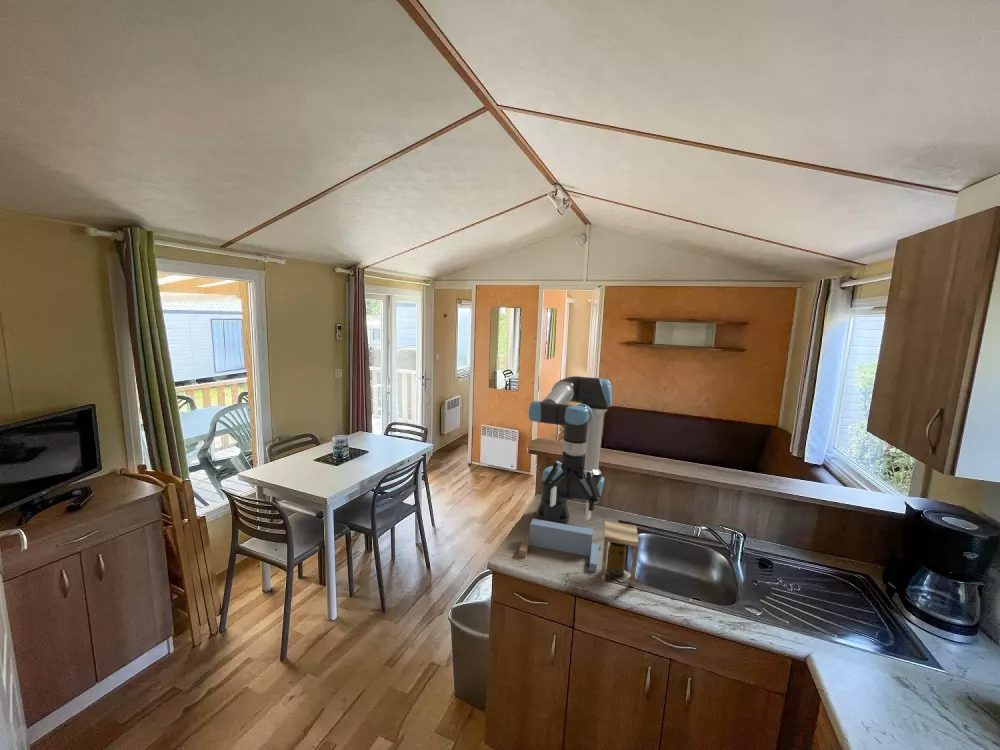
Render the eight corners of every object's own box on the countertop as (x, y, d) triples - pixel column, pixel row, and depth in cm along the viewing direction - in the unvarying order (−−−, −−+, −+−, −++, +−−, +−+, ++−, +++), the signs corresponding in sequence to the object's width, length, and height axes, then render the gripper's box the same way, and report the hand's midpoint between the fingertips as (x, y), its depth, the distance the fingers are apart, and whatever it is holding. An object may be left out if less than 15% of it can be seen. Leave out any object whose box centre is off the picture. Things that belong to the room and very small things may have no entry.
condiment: (613, 563, 154) (615, 533, 152) (633, 575, 147) (636, 544, 146) (600, 570, 149) (603, 540, 147) (621, 583, 143) (624, 551, 141)
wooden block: (522, 545, 163) (523, 538, 163) (529, 547, 163) (529, 540, 162) (518, 557, 156) (519, 549, 155) (525, 558, 155) (525, 551, 155)
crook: (531, 539, 168) (532, 518, 167) (597, 551, 161) (599, 530, 160) (524, 557, 155) (525, 535, 154) (596, 572, 148) (598, 549, 147)
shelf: (601, 562, 154) (605, 520, 152) (632, 567, 152) (636, 525, 149) (600, 580, 143) (604, 536, 141) (633, 587, 141) (638, 542, 138)
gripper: (536, 446, 142) (533, 503, 146) (604, 465, 127) (599, 529, 130) (548, 441, 148) (544, 496, 151) (614, 459, 133) (608, 520, 136)
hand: (569, 511), depth 141 cm, fingers open, 13 cm apart
